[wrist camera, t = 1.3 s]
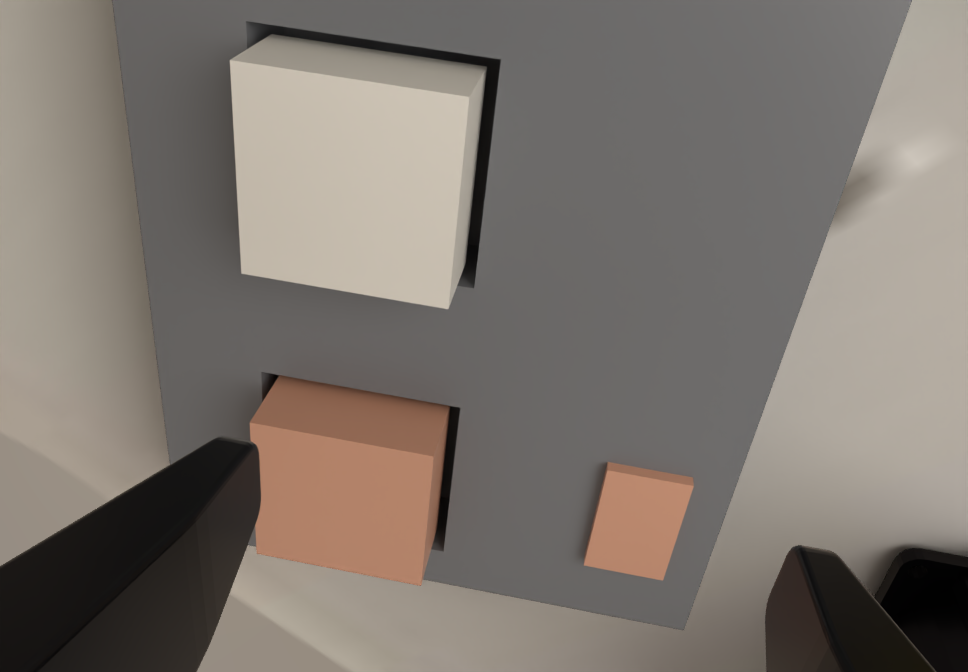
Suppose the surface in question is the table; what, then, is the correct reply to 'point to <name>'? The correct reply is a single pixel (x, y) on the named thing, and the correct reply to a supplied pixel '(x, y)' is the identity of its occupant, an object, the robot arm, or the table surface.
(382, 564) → the terracotta key
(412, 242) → the offwhite key
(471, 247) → the keypad
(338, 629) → the table surface
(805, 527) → the table surface
